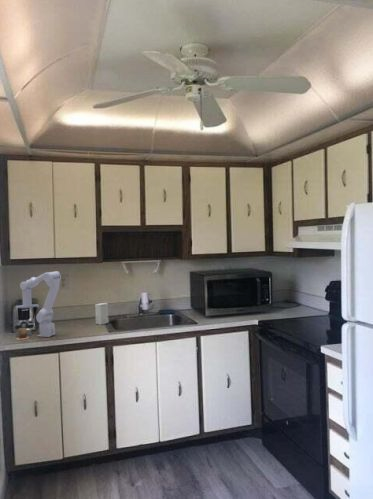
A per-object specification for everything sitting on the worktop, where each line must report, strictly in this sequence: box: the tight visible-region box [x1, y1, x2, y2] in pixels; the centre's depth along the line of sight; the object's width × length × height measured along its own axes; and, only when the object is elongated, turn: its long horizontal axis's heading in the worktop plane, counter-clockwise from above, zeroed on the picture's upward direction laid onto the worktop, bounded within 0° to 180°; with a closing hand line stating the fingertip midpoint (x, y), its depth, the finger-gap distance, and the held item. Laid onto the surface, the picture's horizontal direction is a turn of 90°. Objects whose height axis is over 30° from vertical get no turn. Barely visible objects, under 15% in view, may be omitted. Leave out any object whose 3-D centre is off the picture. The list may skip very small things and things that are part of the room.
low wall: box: [14, 330, 32, 338], centre depth 271 cm, size 10×1×3 cm, turn 108°
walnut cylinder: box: [17, 327, 28, 339], centre depth 265 cm, size 5×5×6 cm
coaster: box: [15, 335, 30, 341], centre depth 265 cm, size 8×8×1 cm
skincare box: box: [94, 302, 109, 325], centre depth 303 cm, size 8×6×15 cm
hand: (27, 318), depth 278 cm, fingers open, 7 cm apart
